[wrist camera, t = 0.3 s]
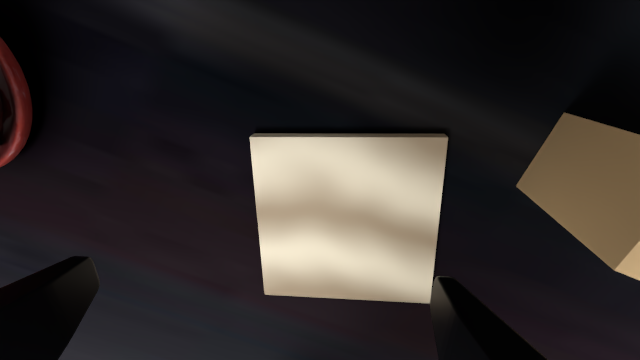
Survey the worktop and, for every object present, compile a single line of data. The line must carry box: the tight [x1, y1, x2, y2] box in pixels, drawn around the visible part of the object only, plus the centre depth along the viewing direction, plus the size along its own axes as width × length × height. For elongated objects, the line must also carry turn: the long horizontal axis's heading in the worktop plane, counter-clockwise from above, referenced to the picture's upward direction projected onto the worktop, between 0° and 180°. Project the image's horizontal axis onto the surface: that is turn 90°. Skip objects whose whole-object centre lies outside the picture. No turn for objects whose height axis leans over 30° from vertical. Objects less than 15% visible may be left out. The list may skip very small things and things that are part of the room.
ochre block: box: [516, 113, 640, 280], centre depth 17 cm, size 5×5×9 cm
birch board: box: [250, 133, 448, 303], centre depth 23 cm, size 12×12×1 cm
